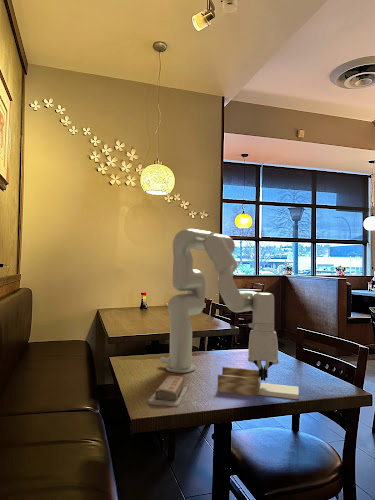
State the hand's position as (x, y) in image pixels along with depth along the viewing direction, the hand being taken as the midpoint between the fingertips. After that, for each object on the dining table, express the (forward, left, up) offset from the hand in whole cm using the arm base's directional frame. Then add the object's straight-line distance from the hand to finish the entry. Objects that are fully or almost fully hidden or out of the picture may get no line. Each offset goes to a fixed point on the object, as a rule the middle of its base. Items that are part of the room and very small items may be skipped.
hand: (263, 379), depth 126 cm
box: (-8, 0, -4) cm, 9 cm away
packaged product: (-30, -14, -5) cm, 34 cm away
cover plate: (+5, 0, -5) cm, 7 cm away
